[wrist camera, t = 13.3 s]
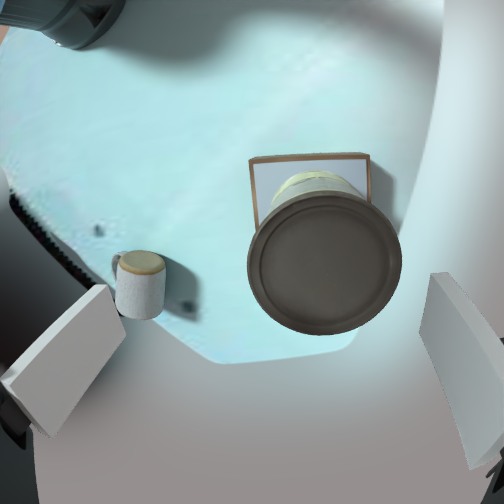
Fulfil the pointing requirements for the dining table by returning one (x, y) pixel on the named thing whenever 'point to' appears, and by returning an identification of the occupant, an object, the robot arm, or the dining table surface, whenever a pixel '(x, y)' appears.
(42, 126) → the dining table surface
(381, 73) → the dining table surface
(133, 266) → the ceramic mug
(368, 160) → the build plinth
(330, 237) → the coffee can
